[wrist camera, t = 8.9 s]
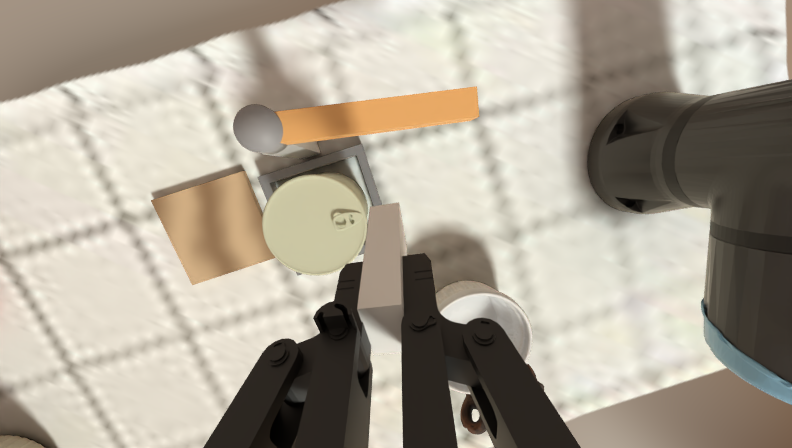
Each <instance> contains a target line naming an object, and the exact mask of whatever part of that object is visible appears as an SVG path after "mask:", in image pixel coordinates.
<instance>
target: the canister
mask: <svg viewBox="0 0 792 448" xmlns="http://www.w3.org/2000/svg"><path fill="white" fill-rule="evenodd" d="M0 448H45V447H43V446H42V445H41V444H38V443H36V442H35V441H34V440H29V439H27V438H21V437H19V436H11V435H6V436H3V435H0Z"/></svg>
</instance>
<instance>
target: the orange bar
mask: <svg viewBox="0 0 792 448" xmlns="http://www.w3.org/2000/svg"><path fill="white" fill-rule="evenodd" d="M477 117H479V108H478V96H477V87H469V88H461V89H453V90H445V91H437V92H429V93H421V94H413V95H405V96H397V97H389V98H381V99H373V100H365V101H357V102H349V103H341V104H333V105H325V106H317V107H309V108H301V109H293V110H285V111H277V112H274V111H272V110H270V109H269V108H267V107H265V106H262V105H257V104H253V105H248V106H246V107H244V108H242V109H241V110H240V111H239V112H238V113H237V114H236V116H235V119H234V123H233V130H234V134H235V136H236V138H237V140H238V142H239V143H240V144H241V145H242V146H243V147H245V148H246V149H248V150H250V151H253V152H259V153H266V154H276V153H279V152H281V151H282V150H284V149H285V148H286V147H287V145H291V144H299V143H306V142H314V141H321V140H329V139H336V138H344V137H351V136H359V135H367V134H374V133H382V132H389V131H397V130H404V129H412V128H420V127H427V126H435V125H442V124H450V123H457V122H465V121H471V120H473V119H475V118H477Z"/></svg>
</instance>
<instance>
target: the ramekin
mask: <svg viewBox="0 0 792 448" xmlns="http://www.w3.org/2000/svg"><path fill="white" fill-rule="evenodd" d="M436 301H437V307H438V310H439V312H440V313H441V315H443V316H444V317H445V318H446V319H448V320H450V321H453V322H456V323H461V324H467V323H468V322H469V321H471V320H473V319H475V318H488V319H491V320H493V321H495V322H497V323H498V324H499V325H500V326H501V327H502V328H503V329H504V331H505V332H506V334H507V335H508V337H509V338H510V340H511V341H512V343H513V345H514V346H515V348H516V349H517V351H518V352H519V354H520V355H521V357H522V358H523V360H524V361H525V363H526V362H527V360H528V358H529V355H530V352H531V348H532V340H533V336H532V328H531V324H530V322H529V319H528V317H527V315H526V314H525V312H524V311H523V310H522V308H521V307H520V306H519V305H518V304H517V303H516V302H515V301H514V300H513V299H511V298H510V297H508V296H507V295H505V294H503V293H501V292H499V291H497V290H495V289H493V288H492V287H490V286H488V285H486V284H484V283H480V282H474V281H459V282H455V283H452V284H449V285H448V286H445V287H444V288H443V289H441V290H439V291H438V292H437V293H436ZM448 383H449V389H451V390H454V391H457V392H459V393H465V394H471V393H470V391H469V389H468V387H467V385H464V384H460V383H456V382H452V381H449V380H448Z"/></svg>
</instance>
